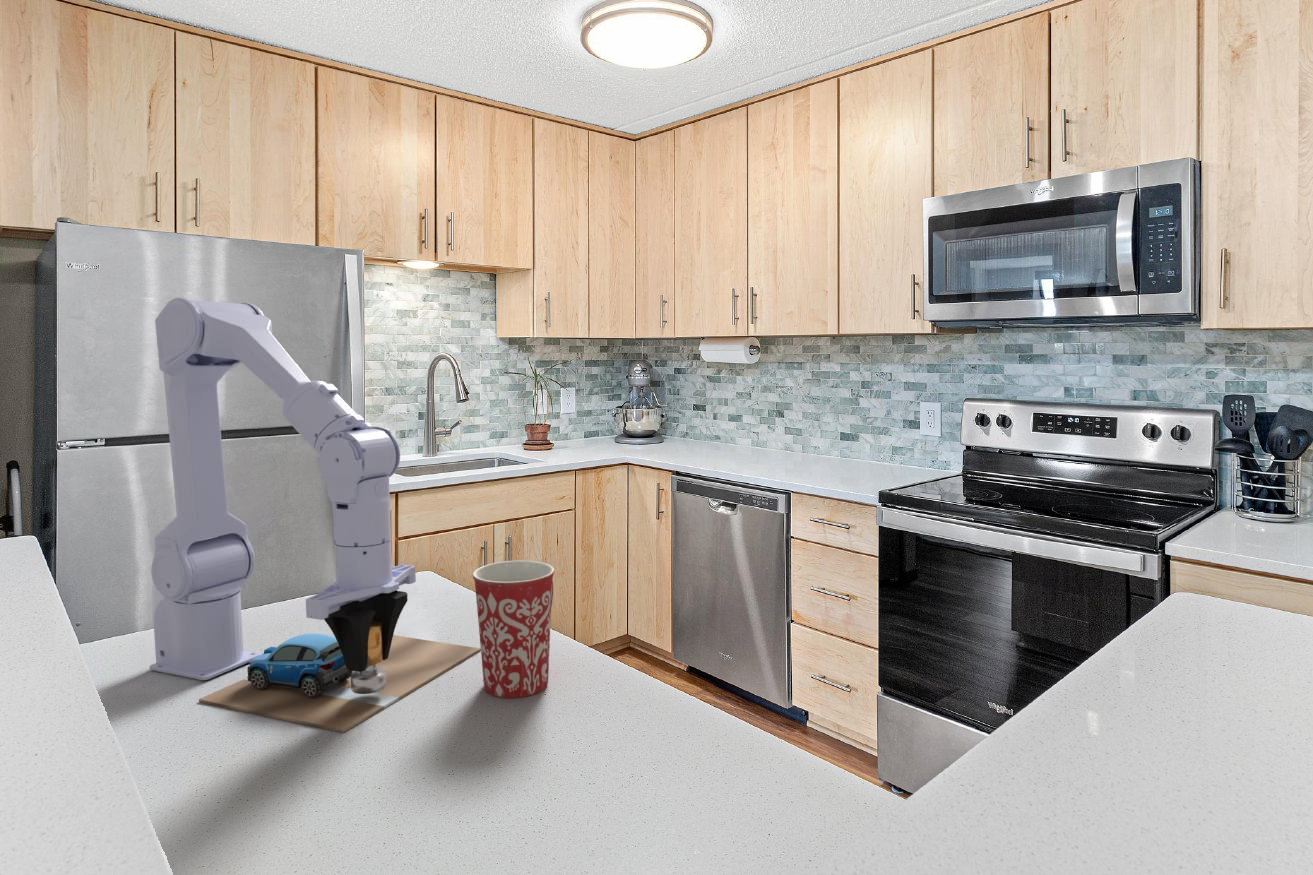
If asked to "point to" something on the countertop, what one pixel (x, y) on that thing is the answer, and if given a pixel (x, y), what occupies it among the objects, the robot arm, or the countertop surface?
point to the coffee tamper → (371, 665)
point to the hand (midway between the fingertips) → (367, 663)
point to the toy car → (300, 664)
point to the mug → (514, 626)
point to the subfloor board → (348, 688)
